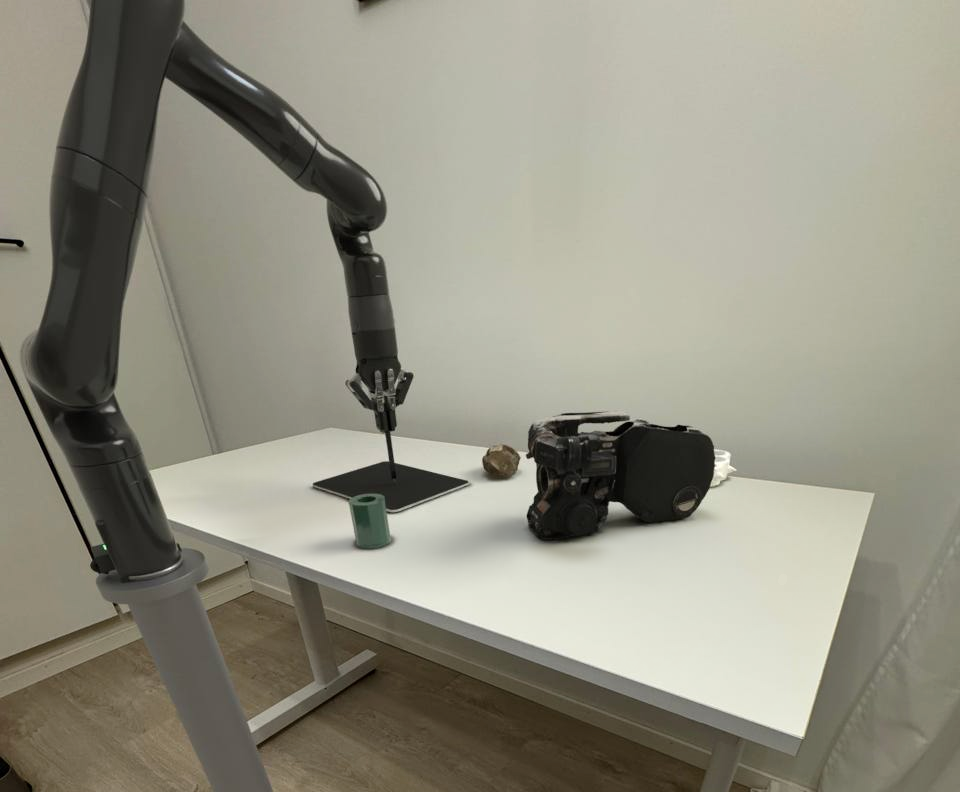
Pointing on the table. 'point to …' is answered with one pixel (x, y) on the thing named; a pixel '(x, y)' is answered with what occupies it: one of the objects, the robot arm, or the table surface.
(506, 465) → the brown rock
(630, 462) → the movie camera
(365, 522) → the holder
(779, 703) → the table surface
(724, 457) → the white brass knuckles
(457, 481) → the tablet
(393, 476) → the stylus
